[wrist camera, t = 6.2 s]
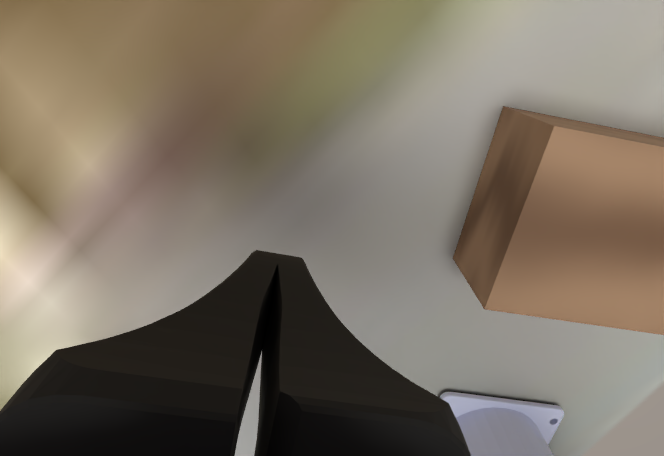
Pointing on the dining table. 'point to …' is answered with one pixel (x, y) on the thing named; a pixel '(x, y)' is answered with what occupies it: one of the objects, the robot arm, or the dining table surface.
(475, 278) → the walnut block
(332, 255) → the dining table surface
